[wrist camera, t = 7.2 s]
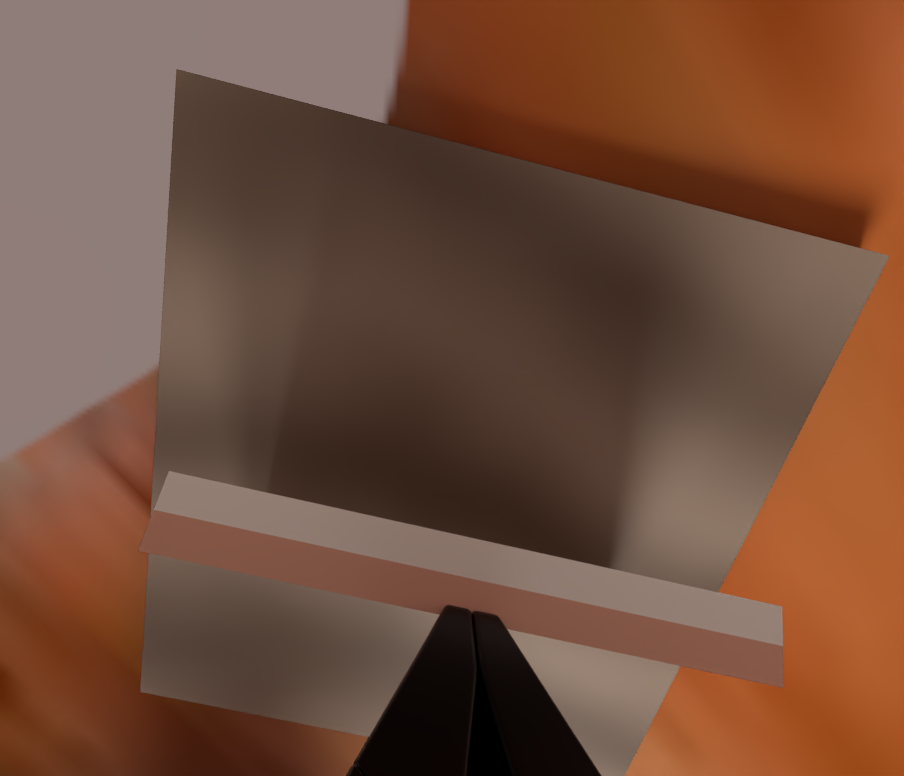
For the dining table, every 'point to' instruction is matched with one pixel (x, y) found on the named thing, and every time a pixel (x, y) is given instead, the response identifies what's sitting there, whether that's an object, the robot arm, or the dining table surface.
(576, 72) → the dining table surface
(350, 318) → the board
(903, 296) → the dining table surface
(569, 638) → the tile
